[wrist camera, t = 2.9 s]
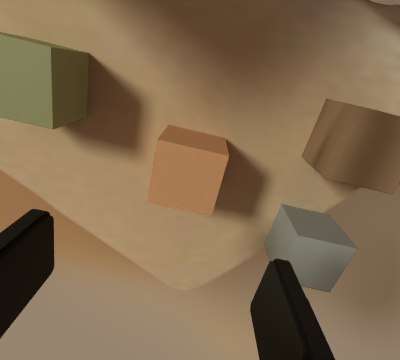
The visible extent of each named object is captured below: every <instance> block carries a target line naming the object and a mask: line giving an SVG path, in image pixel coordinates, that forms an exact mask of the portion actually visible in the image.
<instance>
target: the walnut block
mask: <svg viewBox="0 0 400 360" xmlns="http://www.w3.org/2000/svg"><path fill="white" fill-rule="evenodd" d="M302 157H303V158H304V159H305V160H306V161H307V162H308V163H309V164H310V165H311V166H313V167H314V168H315V169H316V170H317V171H318V172H319V173H320V174H321V175H322V176H323V177H324V178H326V179H329V180H333V181H337V182H341V183H346V184H350V185H354V186H358V187H363V188H367V189H371V190H376V191H380V192H384V193H388V194H393V192H394V191H395V189H396V188H397V186H398V185H399V183H400V116H396V115H392V114H388V113H384V112H380V111H376V110H372V109H369V108H365V107H361V106H356V105H352V104H347V103H343V102H338V101H334V100H329V99H326V101H325V103H324V105H323V108H322V110H321V112H320V115H319V117H318V119H317V122H316V124H315V126H314V129H313V131H312V133H311V136H310V138H309V140H308V143H307V145H306V147H305V150H304V152H303V154H302Z"/></svg>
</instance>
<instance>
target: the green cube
mask: <svg viewBox="0 0 400 360" xmlns="http://www.w3.org/2000/svg"><path fill="white" fill-rule="evenodd" d="M88 76H89V53H86V52H82V51H78V50H74V49H70V48H66V47H63V46H59V45H55V44H51V43H47V42H43V41H39V40H35V39H31V38H27V37H22V36H17V35H12V34H7V33H1V32H0V117H1V118H5V119H9V120H14V121H18V122H22V123H27V124H31V125H35V126H40V127H44V128H48V129H56V128H59V127H61V126H64V125H67V124H70V123H72V122H75V121H78V120H81V119H83V118H86V117H87V106H88Z"/></svg>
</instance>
